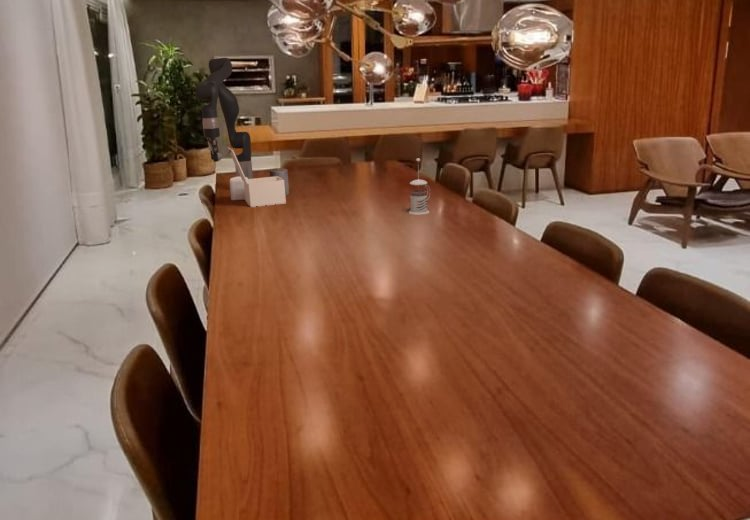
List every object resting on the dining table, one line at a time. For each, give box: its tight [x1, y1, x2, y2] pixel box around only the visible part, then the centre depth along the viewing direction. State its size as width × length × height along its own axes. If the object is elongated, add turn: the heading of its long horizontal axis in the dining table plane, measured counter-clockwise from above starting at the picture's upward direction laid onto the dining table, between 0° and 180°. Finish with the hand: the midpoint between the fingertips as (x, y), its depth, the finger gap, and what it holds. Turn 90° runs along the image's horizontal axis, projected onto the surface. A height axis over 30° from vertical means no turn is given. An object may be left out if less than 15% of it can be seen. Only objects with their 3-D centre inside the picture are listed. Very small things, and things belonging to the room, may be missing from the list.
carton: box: [244, 176, 287, 208], centre depth 328 cm, size 14×18×12 cm
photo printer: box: [229, 176, 248, 201], centre depth 338 cm, size 10×4×12 cm, turn 98°
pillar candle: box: [269, 167, 290, 197], centre depth 347 cm, size 10×10×15 cm
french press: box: [408, 157, 431, 216], centre depth 292 cm, size 10×12×25 cm
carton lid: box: [218, 146, 248, 184], centre depth 318 cm, size 14×19×10 cm
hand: (214, 160), depth 314 cm, fingers open, 8 cm apart
